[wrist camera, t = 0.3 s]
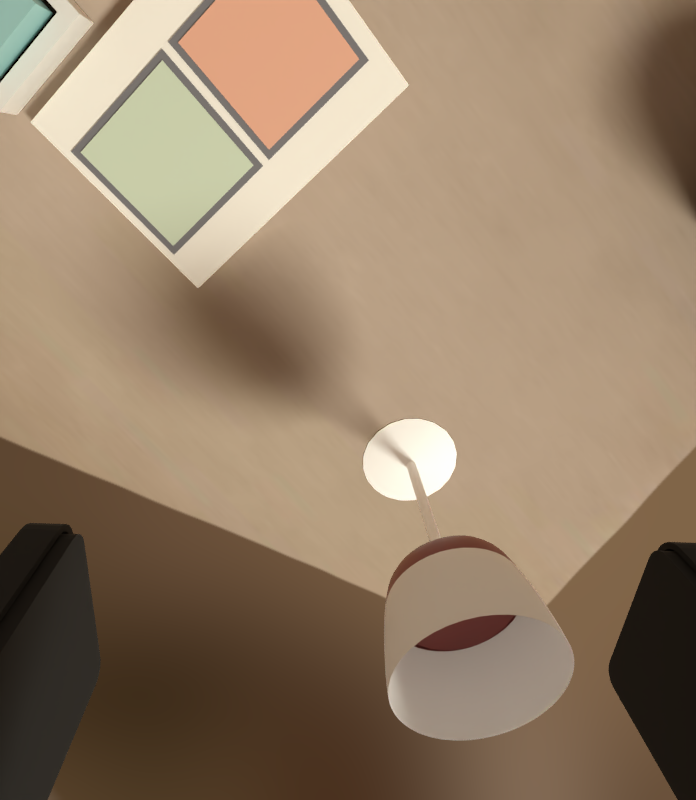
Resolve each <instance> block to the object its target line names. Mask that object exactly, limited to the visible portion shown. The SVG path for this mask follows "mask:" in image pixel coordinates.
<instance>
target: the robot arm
mask: <svg viewBox="0 0 696 800" xmlns="http://www.w3.org/2000/svg"><path fill="white" fill-rule="evenodd" d="M99 670H100V652H99V645H98V638H97V632H96V624H95V617H94V610H93V603H92V596H91V588H90V581H89V574H88V567H87V559H86V553H85V546H84V540H83V537H82V536H81V535H80V534H73V532H72V529H71V527H70V526H69V525H67V524H42V523H29V524H26V525H25V526H24V527H23V528H22V529H21V530H20V531H19V532H18V533H17V535H16V536H15V537H14V538H13V540H12V541H11V542H10V544H9V545H8V546H7V547H6V548H5V550H4V551H3V552H2V553H1V555H0V800H47V799H48V797H49V795H50V793H51V790H52V788H53V785H54V783H55V780H56V778H57V775H58V773H59V771H60V769H61V766H62V764H63V761H64V759H65V757H66V754H67V752H68V749H69V747H70V745H71V742H72V740H73V738H74V735H75V733H76V730H77V728H78V726H79V723H80V721H81V718H82V716H83V714H84V711H85V709H86V706H87V704H88V702H89V699H90V697H91V695H92V692H93V690H94V687H95V685H96V682H97V679H98V675H99ZM609 676H610V680H611V683H612V685H613V687H614V689H615V691H616V693H617V694H618V696H619V698H620V700H621V702H622V703H623V705H624V707H625V709H626V710H627V712H628V714H629V716H630V717H631V719H632V721H633V723H634V724H635V726H636V728H637V729H638V731H639V733H640V735H641V736H642V738H643V740H644V742H645V743H646V745H647V747H648V748H649V750H650V752H651V754H652V756H653V757H654V759H655V761H656V763H657V764H658V766H659V768H660V770H661V771H662V773H663V775H664V777H665V778H666V780H667V782H668V784H669V785H670V787H671V789H672V791H673V792H674V794H675V796H676V798H677V799H678V800H696V543H680V542H679V543H678V542H667V543H664V544H662V545H661V546H660V547H659V549H658V551H654V552H653V553H652V554H651V556H650V557H649V560H648V562H647V565H646V568H645V570H644V573H643V576H642V578H641V581H640V583H639V586H638V589H637V591H636V594H635V597H634V600H633V602H632V605H631V607H630V610H629V613H628V615H627V618H626V620H625V623H624V626H623V628H622V631H621V634H620V636H619V639H618V641H617V644H616V647H615V649H614V652H613V655H612V657H611V660H610V663H609Z"/></svg>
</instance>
